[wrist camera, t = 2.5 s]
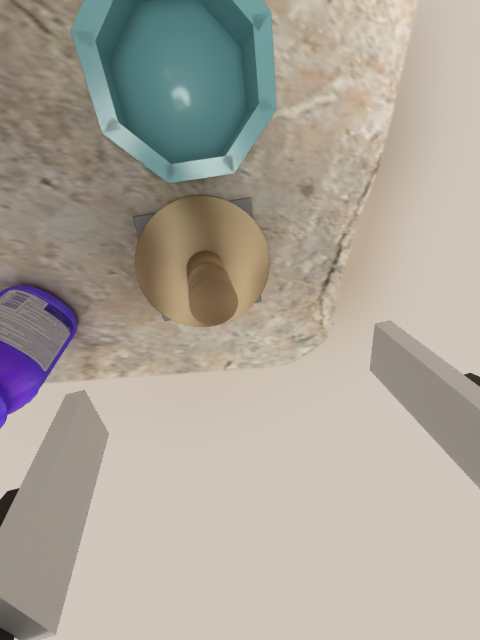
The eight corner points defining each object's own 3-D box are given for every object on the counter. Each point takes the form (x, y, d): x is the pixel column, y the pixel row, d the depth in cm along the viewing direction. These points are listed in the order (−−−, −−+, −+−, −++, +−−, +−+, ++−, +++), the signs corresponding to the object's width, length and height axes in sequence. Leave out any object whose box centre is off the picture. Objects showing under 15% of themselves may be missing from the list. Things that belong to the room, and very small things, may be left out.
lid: (157, 330, 32) (150, 389, 24) (117, 207, 25) (88, 228, 17) (270, 307, 33) (300, 355, 25) (260, 184, 27) (296, 194, 18)
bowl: (130, 186, 25) (120, 190, 21) (73, -11, 19) (41, -62, 15) (262, 165, 26) (279, 166, 22) (247, -26, 20) (266, -77, 16)
